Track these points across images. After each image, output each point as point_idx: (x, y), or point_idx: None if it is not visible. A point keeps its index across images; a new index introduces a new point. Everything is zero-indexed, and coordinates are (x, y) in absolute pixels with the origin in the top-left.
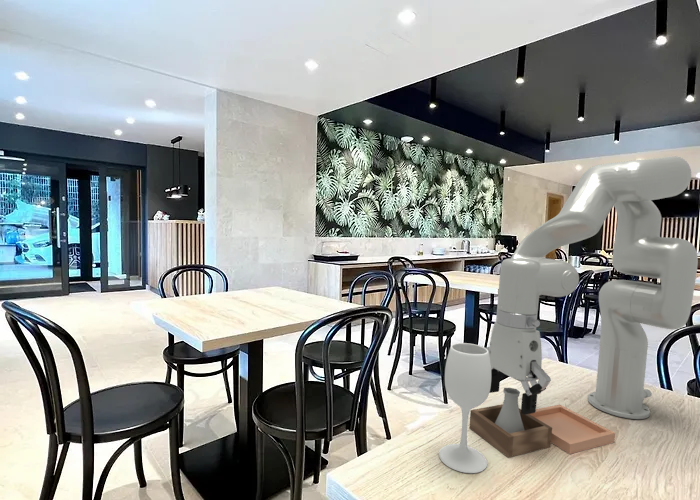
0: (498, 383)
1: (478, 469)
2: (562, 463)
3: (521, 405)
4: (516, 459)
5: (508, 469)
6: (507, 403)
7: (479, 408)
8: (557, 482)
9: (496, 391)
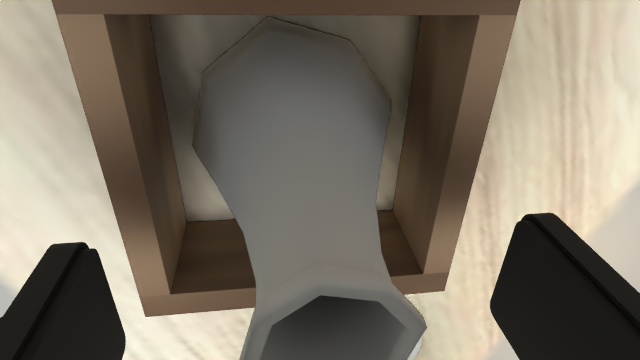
0: (59, 327)
1: (419, 345)
2: (563, 35)
3: (519, 357)
4: None
5: (455, 261)
6: (332, 297)
7: (131, 266)
8: (594, 163)
9: (102, 272)
